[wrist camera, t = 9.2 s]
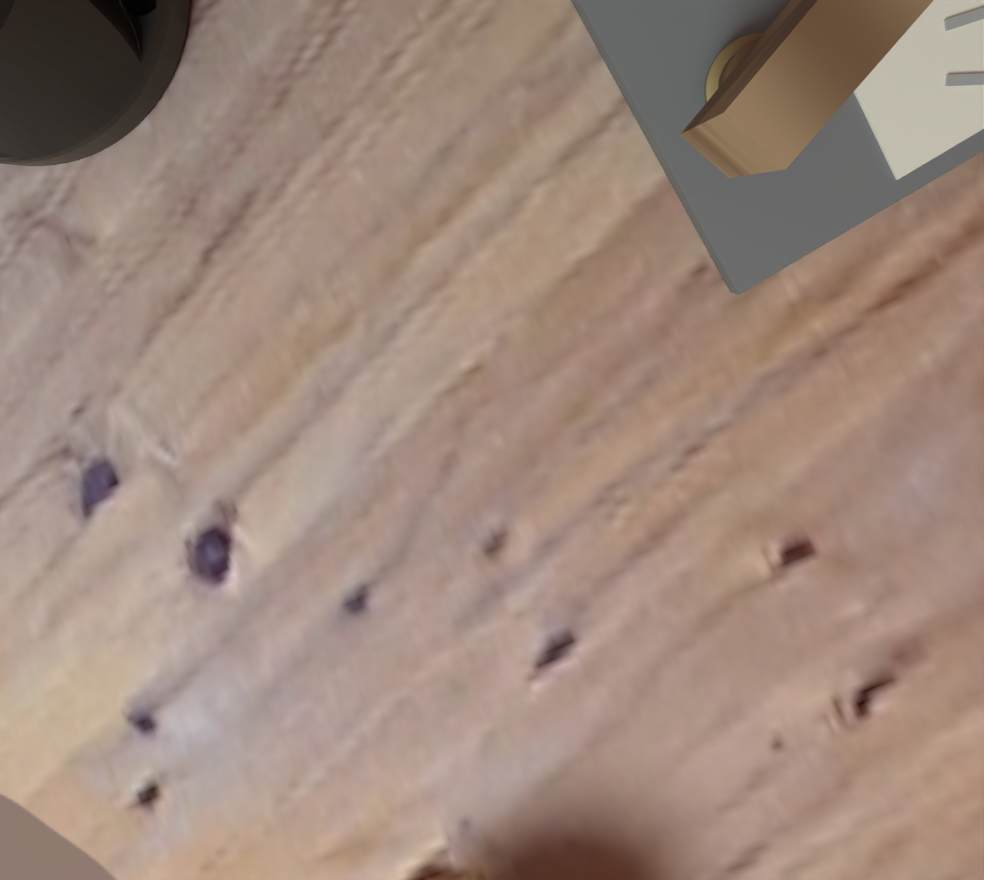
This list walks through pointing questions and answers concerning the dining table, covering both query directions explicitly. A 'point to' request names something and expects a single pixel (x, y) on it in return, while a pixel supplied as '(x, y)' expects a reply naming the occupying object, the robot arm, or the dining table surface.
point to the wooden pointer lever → (792, 80)
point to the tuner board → (835, 148)
